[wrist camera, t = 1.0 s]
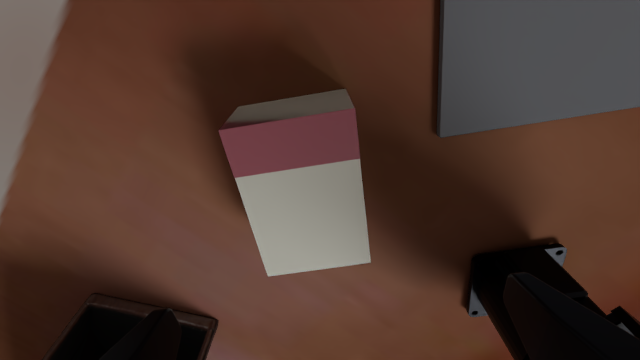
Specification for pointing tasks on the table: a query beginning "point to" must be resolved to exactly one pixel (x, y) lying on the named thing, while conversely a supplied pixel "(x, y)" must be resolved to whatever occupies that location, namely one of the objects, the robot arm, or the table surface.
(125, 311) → the letter holder
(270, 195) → the card box
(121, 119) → the table surface
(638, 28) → the mat
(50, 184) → the table surface
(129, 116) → the table surface
